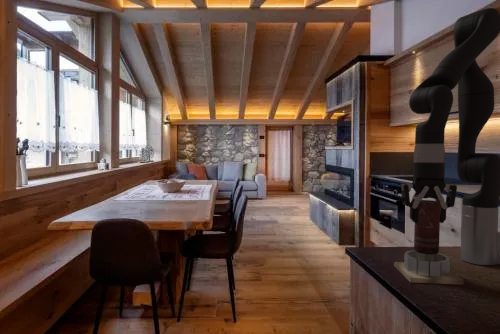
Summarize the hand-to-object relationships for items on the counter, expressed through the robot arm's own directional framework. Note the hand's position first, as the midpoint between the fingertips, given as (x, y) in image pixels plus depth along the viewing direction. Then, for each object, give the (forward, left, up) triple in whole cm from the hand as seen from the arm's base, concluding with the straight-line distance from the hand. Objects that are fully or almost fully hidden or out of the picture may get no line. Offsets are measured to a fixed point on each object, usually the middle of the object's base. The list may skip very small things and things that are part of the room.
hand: (427, 221), depth 93 cm
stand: (0, 0, -15) cm, 15 cm away
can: (0, 0, -8) cm, 8 cm away
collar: (0, 0, -13) cm, 13 cm away
